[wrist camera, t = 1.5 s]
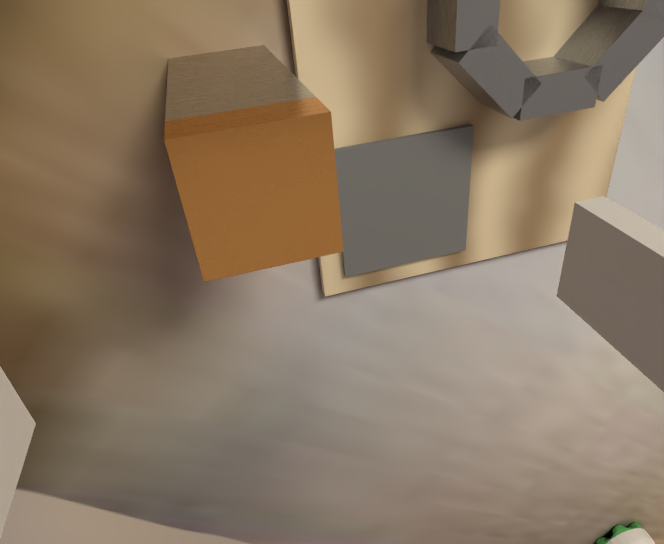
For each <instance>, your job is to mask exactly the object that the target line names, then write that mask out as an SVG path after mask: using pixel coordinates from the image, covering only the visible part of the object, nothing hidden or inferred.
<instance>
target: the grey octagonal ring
mask: <svg viewBox="0 0 664 544" xmlns="http://www.w3.org/2000/svg"><path fill="white" fill-rule="evenodd" d="M499 12H500V0H427V39H426V42H427V43H430V44H432V45H435V46H434V48H433V49H432V50H431V51H430V53H431V54H432V55H433V56H434V57H435V58H436V59H437V60H438V61H439V62H440V63H441V64H442V65H443V66H444V67H445V68H446V69H447V70H448V71H449V72H450V73H451V74H452V75H453V76H454V77H455V78H456V79H457V80H458V81H459V82H460V83H461V84H462V85H463V86H464V87H465V88H466V89H467V90H468V91H469V92H470V93H471V94H472V95H473V96H474V97H475V99H476V100H477V101H478V102H479V103H480V104H482V105H485V106H487V107H489V108H491V109H493V110H495V111H497V112H499V113H501V114H503V115H505V116H507V117H510V118H515V119H517V120H519V121H522V120H528V119H533V118H539V117H544V116H550V115H555V114H561V113H566V112H572V111H577V110H583V109H588V108H594V107H595V104H596V99H597V100H600V101H602V102H604V101H605V100H606V99H607V98H608V97H609V96H610V94H611V93H612V92H613V91H614V90H615V89H616V88H617V87H618V86H619V85H620V84H621V83H622V81H623V80H624V79H625V78H626V77H627V76H628V75H629V74H630V73H631V72H632V71H633V69H634V68H635V67H636V66H637V65H638V64H639V63H640V62H641V61H642V60H643V59H644V57H645V56H646V55H647V54H648V53H649V52H650V51H651V50H652V49H653V48H654V47H655V46H656V44H657V43H658V42H659V41H660V40H661V39H662V38H663V37H664V0H599V1H598V5H597V7H596V8H595V9H594V10H593V11H592V12H591V14H590V15H589V16H588V17H587V18H586V19H585V21H584V22H583V23H582V24H581V25H580V26H579V28H578V29H577V30H576V31H575V32H574V33H573V34H572V36H571V37H570V38H569V39H568V40H567V41H566V43H565V44H564V45H563V46H562V47H561V48H560V50H559V51H558V52H557V53H556V54H555V55H554V56H553V57H547V58H541V59H535V60H529V61H522V60H521V59H520V58H519V56H518V55H517V54H516V53H515V52H514V50H513V49H512V48H511V47H510V46H509V45H508V43H507V42H506V41H505V40H504V39H503V38H502V36H501V35H500V34H499V33H498V24H499Z"/></svg>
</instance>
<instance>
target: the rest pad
mask: <svg viewBox="0 0 664 544" xmlns="http://www.w3.org/2000/svg"><path fill="white" fill-rule="evenodd" d="M473 132H474V126H473V125H472V124H468V125H462V126H457V127H451V128H446V129H440V130H435V131H429V132H424V133H418V134H413V135H407V136H402V137H396V138H390V139H385V140H379V141H374V142H368V143H363V144H357V145H352V146H346V147H341V148H335V149H334V150H335V161H336V172H337V183H338V194H339V205H340V216H341V227H342V238H343V249H344V252H342V260H343V271H344V276H345V277H349V276H353V275H358V274H362V273H367V272H371V271H376V270H380V269H384V268H389V267H393V266H398V265H402V264H407V263H411V262H415V261H420V260H424V259H429V258H433V257H438V256H442V255H446V254H451V253H455V252H460V251H464V250H466V238H467V223H468V208H469V193H470V178H471V163H472V147H473Z"/></svg>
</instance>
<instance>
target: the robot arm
mask: <svg viewBox="0 0 664 544" xmlns="http://www.w3.org/2000/svg"><path fill="white" fill-rule="evenodd" d="M557 297H558V298H560V299H561V300H562V301H563V302H564V303H565V304H566V305H567V306H569V307H570V308H571V309H572V310H573V311H574V312H575V313H576V314H577V315H579V316H580V317H581V318H582V319H583V320H584V321H585V322H586V323H587V324H589V325H590V326H591V327H592V328H593V329H594V330H595V331H596V332H598V333H599V334H600V335H601V336H602V337H603V338H604V339H605V340H606V341H608V342H609V343H610V344H611V345H612V346H613V347H614V348H615V349H616V350H618V351H619V352H620V353H621V354H622V355H623V356H624V357H625V358H627V359H628V360H629V361H630V362H631V363H632V364H633V365H634V366H635V367H637V368H638V369H639V370H640V371H641V372H642V373H643V374H644V375H645V376H647V377H648V378H649V379H650V380H651V381H652V382H653V383H654V384H656V385H657V386H658V387H659V388H660V389H661V390H662V391H663V392H664V230H663V229H661V228H659V227H657V226H655V225H654V224H652V223H650V222H648V221H646V220H645V219H643V218H641V217H639V216H638V215H636V214H634V213H632V212H630V211H629V210H627V209H625V208H623V207H622V206H620V205H618V204H616V203H614V202H613V201H611V200H609V199H607V198H606V197H604V196H602V197H597V198H592V199H587V200H583V201H578V202H575V204H574V209H573V214H572V219H571V225H570V230H569V235H568V240H567V246H566V251H565V256H564V261H563V266H562V272H561V277H560V282H559V287H558V293H557ZM35 425H36V423H35V422H34V420H33V418H32V417H31V415H30V414H29V412H28V410H27V409H26V407H25V406H24V404H23V402H22V401H21V399H20V397H19V396H18V394H17V393H16V391H15V389H14V388H13V386H12V385H11V383H10V381H9V380H8V378H7V377H6V375H5V373H4V372H3V370H2V369H1V367H0V538H1V534H2V531H3V528H4V525H5V522H6V519H7V515H8V512H9V509H10V505H11V502H12V499H13V496H14V493H15V489H16V486H17V483H18V480H19V476H20V473H21V470H22V467H23V464H24V460H25V457H26V454H27V451H28V447H29V444H30V441H31V438H32V434H33V431H34V428H35Z"/></svg>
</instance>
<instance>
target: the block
mask: <svg viewBox="0 0 664 544" xmlns="http://www.w3.org/2000/svg"><path fill="white" fill-rule="evenodd" d="M164 142H165V145H166V149H167V152H168V156H169V159H170V163H171V167H172V170H173V174H174V177H175V181H176V184H177V188H178V191H179V195H180V199H181V202H182V206H183V209H184V213H185V216H186V220H187V223H188V227H189V231H190V234H191V238H192V241H193V245H194V248H195V252H196V256H197V259H198V263H199V266H200V270H201V273H202V277H203V280H204V282H206V281H211V280H216V279H220V278H225V277H229V276H234V275H239V274H243V273H248V272H252V271H257V270H262V269H266V268H271V267H275V266H280V265H285V264H289V263H294V262H298V261H303V260H308V259H312V258H317V257H321V256H326V255H331V254H335V253H340V252H344V249H343V238H342V227H341V216H340V205H339V194H338V183H337V172H336V161H335V150H334V139H333V128H332V117H331V111H330V110H329V109H328V108H327V107H326V106H325V105H324V104H323V103H322V102H321V101H320V100H319V99H318V98H317V97H316V96H315V95H314V94H313V93H312V92H311V91H310V90H309V89H308V88H307V87H306V86H305V85H304V84H303V83H302V82H301V81H299V80H298V79H297V78H296V77H295V76H294V75H293V74H292V73H291V72H290V71H289V70H288V69H287V68H286V67H285V66H284V65H283V64H282V63H281V62H280V61H279V60H278V59H277V58H276V57H275V56H274V55H273V54H272V53H271V52H270V51H269V50H268V49H267V48H266V47H265V46H264V45H262V46H255V47H248V48H241V49H234V50H227V51H220V52H213V53H206V54H199V55H191V56H184V57H177V58H170V59H168V77H167V95H166V113H165V131H164Z"/></svg>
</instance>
